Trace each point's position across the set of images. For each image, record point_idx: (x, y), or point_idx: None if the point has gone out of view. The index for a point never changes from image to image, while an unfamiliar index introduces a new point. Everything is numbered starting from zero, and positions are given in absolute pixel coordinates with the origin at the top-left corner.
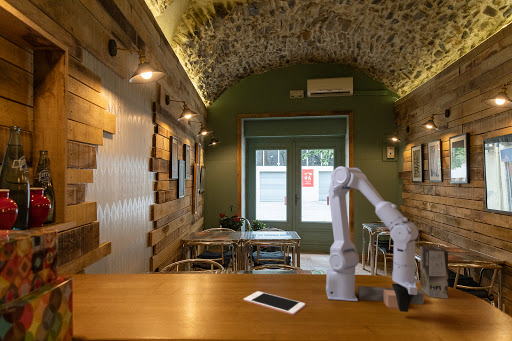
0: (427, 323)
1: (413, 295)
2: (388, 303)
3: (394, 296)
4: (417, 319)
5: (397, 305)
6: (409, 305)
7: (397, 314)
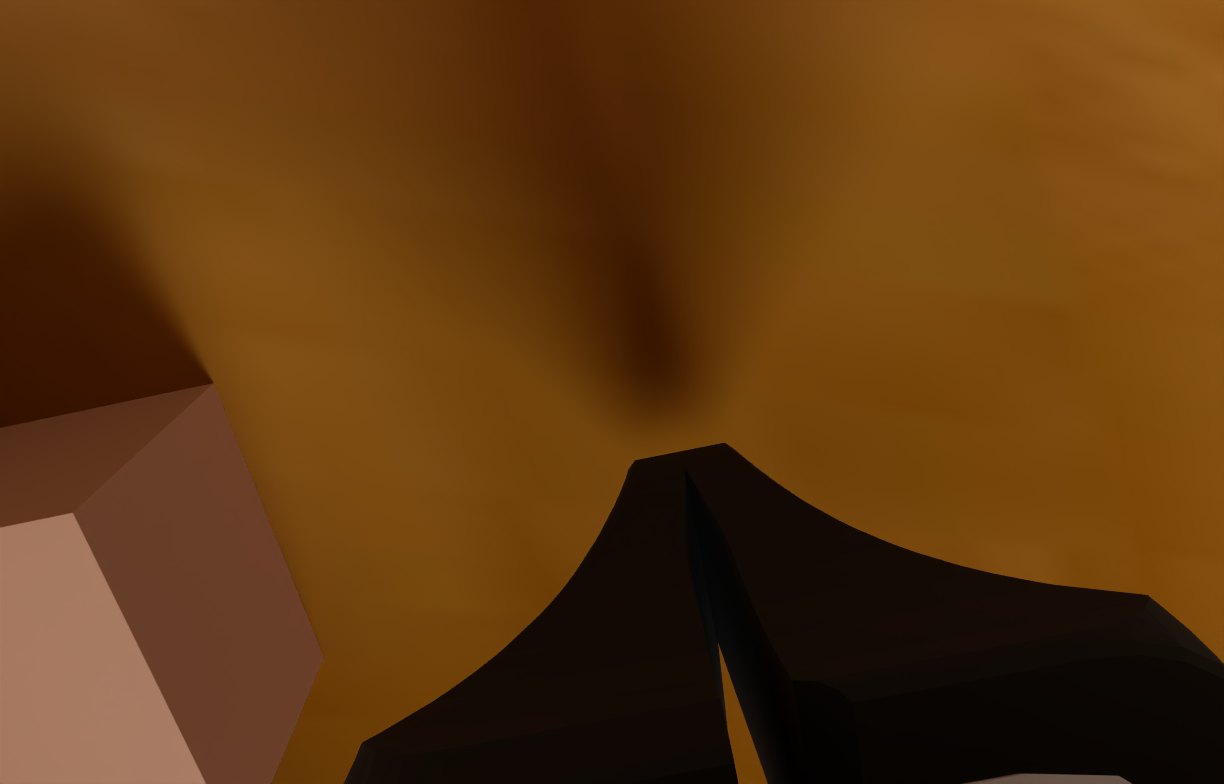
0: (825, 44)
1: (1020, 593)
2: (297, 705)
3: (198, 724)
4: (686, 216)
5: (247, 542)
6: (783, 487)
7: (587, 537)
